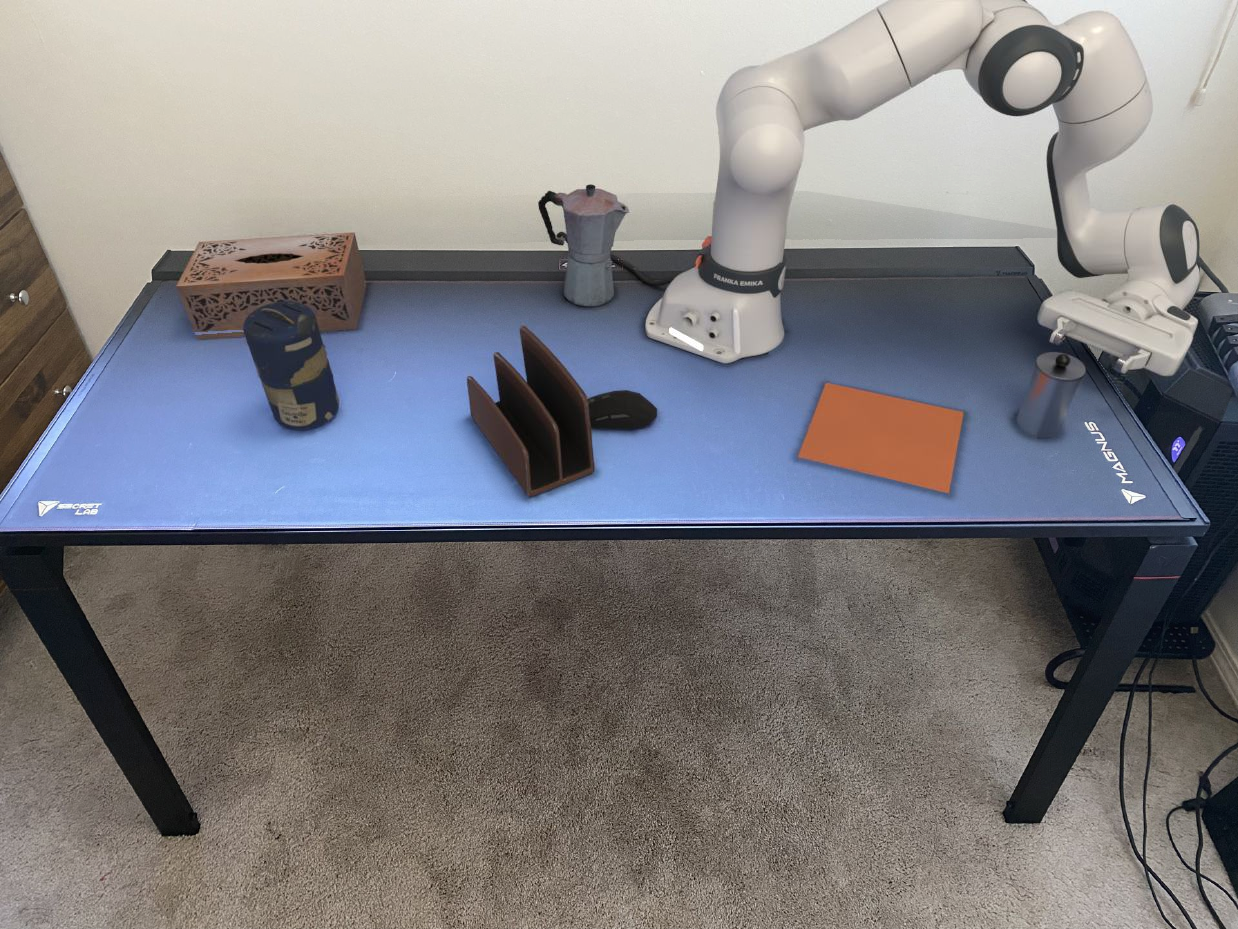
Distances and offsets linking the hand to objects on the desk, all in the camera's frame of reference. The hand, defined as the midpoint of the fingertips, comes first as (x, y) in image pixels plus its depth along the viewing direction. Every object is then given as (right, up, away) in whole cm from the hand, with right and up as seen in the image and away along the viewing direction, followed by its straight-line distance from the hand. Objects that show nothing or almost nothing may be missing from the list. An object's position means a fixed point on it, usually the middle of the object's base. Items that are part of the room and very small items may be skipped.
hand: (1087, 353), depth 126 cm
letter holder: (-78, -13, 0) cm, 79 cm away
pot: (-7, -10, +1) cm, 12 cm away
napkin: (-29, -12, 0) cm, 31 cm away
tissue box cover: (-123, +10, +26) cm, 126 cm away
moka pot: (-72, +14, +29) cm, 78 cm away
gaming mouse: (-68, -9, +4) cm, 69 cm away
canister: (-111, -8, +5) cm, 112 cm away
